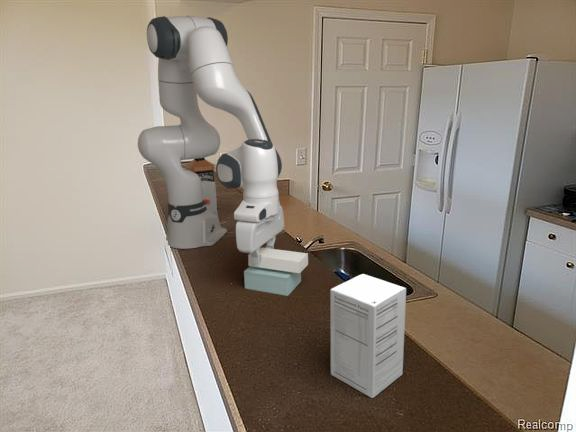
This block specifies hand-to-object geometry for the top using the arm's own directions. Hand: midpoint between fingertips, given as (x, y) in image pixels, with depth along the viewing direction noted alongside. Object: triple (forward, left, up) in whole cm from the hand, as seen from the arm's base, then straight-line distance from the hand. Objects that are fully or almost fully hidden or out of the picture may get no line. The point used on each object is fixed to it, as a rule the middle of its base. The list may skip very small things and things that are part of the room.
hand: (263, 257), depth 111 cm
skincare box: (-42, -46, -8) cm, 63 cm away
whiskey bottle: (-57, -57, -8) cm, 82 cm away
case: (0, +3, -7) cm, 8 cm away
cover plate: (0, +4, -2) cm, 4 cm away
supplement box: (+28, +34, -8) cm, 44 cm away
